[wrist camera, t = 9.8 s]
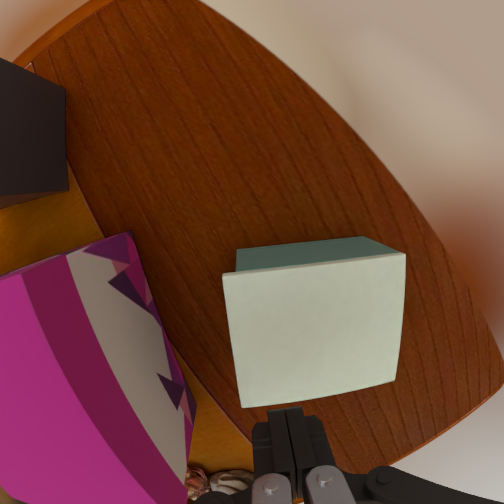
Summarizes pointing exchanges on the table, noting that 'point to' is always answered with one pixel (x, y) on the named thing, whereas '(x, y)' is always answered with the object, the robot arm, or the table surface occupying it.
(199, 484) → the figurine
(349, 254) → the lunchbox
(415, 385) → the table surface
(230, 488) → the sculpture
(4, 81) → the block
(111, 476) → the decorative box
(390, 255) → the lunchbox lid
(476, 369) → the table surface
